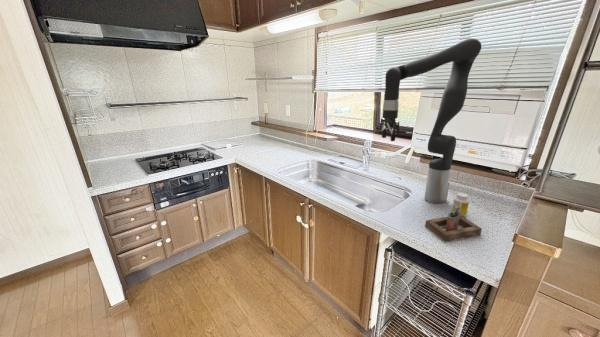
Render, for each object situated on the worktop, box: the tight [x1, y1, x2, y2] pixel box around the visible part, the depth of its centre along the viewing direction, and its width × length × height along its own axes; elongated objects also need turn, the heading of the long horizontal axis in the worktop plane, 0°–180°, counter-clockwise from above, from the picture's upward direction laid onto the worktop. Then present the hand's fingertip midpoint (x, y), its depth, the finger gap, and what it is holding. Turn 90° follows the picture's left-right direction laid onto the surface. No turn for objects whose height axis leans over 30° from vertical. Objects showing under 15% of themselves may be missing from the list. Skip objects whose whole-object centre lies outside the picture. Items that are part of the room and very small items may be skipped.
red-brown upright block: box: [444, 206, 461, 231], centre depth 97 cm, size 8×3×10 cm, turn 129°
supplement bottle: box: [451, 192, 470, 218], centre depth 107 cm, size 6×6×10 cm
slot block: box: [424, 216, 483, 243], centre depth 98 cm, size 16×11×3 cm
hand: (388, 139), depth 132 cm, fingers open, 8 cm apart
